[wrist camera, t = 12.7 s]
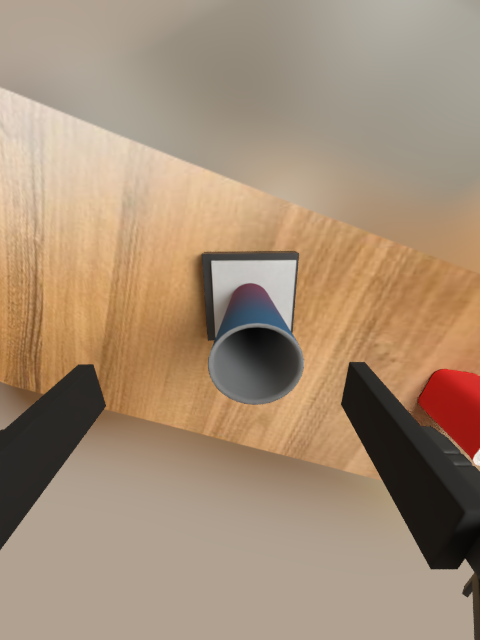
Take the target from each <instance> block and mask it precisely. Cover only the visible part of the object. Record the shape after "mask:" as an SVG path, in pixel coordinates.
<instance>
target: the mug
mask: <svg viewBox="0 0 480 640" xmlns="http://www.w3.org/2000/svg"><path fill="white" fill-rule="evenodd" d="M418 403H419V404H420V406H421V407H422V408H423V409H424V410H425V411H426V412H427V413H428V414H429V415H430V416H431V417H432V418H433V419H434V420H435V421H436V422H437V423H438V424H439V425H440V426H441V427H442V428H443V430H444V431H445V432H446V433H447V434H448V435H449V436H450V437H451V438H452V439H453V440H454V441H455V442H456V443H457V444H458V445H459V446H460V447H461V448H462V449H463V450H464V451H465V452H466V453H467V454H468V455H469V456H470V458H471V459H472V461H473V462H474V464H476V465H478V466H480V376H478V375H476V374H474V373H468V372H461V371H455V370H448V369H442V370H439V371H437V372H435V373H434V374H433V375H432V377H431V379H430V380H429V382H428V384H427V386H426V387H425V389H424V391H423V393H422V394H421V396H420V398H419V401H418Z"/></svg>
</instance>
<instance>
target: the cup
mask: <svg viewBox="0 0 480 640" xmlns="http://www.w3.org/2000/svg"><path fill="white" fill-rule="evenodd" d="M303 368H304V358H303V353H302V350H301V348H300V346H299V344H298V342H297V341H296V339H295V338H294V336H293V334H292V333H291V331H290V329H289V328H288V326H287V324H286V323H285V321H284V319H283V318H282V316H281V315H280V313H279V311H278V310H277V308H276V306H275V305H274V303H273V301H272V300H271V298H270V297H269V295H268V293H267V292H266V290H265V289H264V288H263V287H261V286H260V285H257V284H254V283H247V284H243V285H241V286H239V287H238V288H237V289H236V290H235V291H234V293H233V294H232V297H231V300H230V302H229V305H228V307H227V310H226V313H225V315H224V318H223V320H222V323H221V325H220V328H219V331H218V333H217V336H216V338H215V341H214V344H213V346H212V349H211V352H210V355H209V359H208V369H209V374H210V377H211V379H212V382H213V383H214V384H215V386H216V387H217V389H218V390H219V391H220V392H221V393H223V394H224V395H225V396H227V397H228V398H230V399H232V400H235V401H237V402H241V403H244V404H253V405H256V404H266V403H270V402H273V401H276V400H278V399H280V398H282V397H284V396H285V395H287V394H288V393H289V392H290V391H292V390H293V389H294V387H295V386H296V385H297V384H298V382H299V380H300V378H301V376H302V372H303Z"/></svg>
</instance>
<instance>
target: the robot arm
mask: <svg viewBox="0 0 480 640" xmlns="http://www.w3.org/2000/svg"><path fill="white" fill-rule="evenodd" d="M341 405H342V407H343V409H344V411H345V413H346V414H347V416H348V418H349V420H350V422H351V424H352V425H353V427H354V429H355V431H356V433H357V435H358V436H359V438H360V440H361V442H362V444H363V446H364V447H365V449H366V451H367V453H368V455H369V457H370V458H371V460H372V462H373V464H374V466H375V468H376V469H377V471H378V473H379V475H380V477H381V479H382V480H383V482H384V484H385V486H386V488H387V490H388V491H389V493H390V495H391V497H392V499H393V501H394V502H395V504H396V506H397V508H398V510H399V512H400V513H401V515H402V517H403V519H404V521H405V523H406V524H407V526H408V528H409V530H410V532H411V533H412V535H413V537H414V539H415V541H416V543H417V545H418V546H419V548H420V550H421V552H422V554H423V556H424V557H425V559H426V561H427V563H428V565H429V567H430V568H431V569H458V567H459V566H460V565H461V563H462V562H463V561H464V559H466V560H467V562H468V563H469V565H470V566H471V568H472V569H473V571H474V572H475V573H474V574H473V575H472V577H471V578H470V579H469V581H468V582H467V583H466V585H465V586H464V589H463V595H465V596H466V597H468V596H469V595H470V594H471V592H472V591H473V613H474V639H475V640H480V471H479V470H478V469H477V468H476V467H475V466H472V463H471V462H470V461H469V460H468V459H467V458H466V457H465V456H464V455H463V454H461V453H460V450H459V449H458V448H457V447H456V446H455V445H454V444H453V443H452V442H451V441H450V440H449V439H448V438H447V437H446V436H444V435H443V434H441V433H440V432H438V431H437V430H436V429H434V428H433V427H431V426H420V425H419V423H418V422H417V421H416V420H415V419H414V418H413V417H412V416H411V414H410V413H409V412H408V411H407V410H406V409H405V408H404V406H403V405H402V404H401V403H400V402H399V401H398V400H397V398H396V397H395V396H394V395H393V394H392V393H391V392H390V390H389V389H388V388H387V387H386V386H385V385H384V384H383V382H382V381H381V380H380V379H379V378H378V377H377V376H376V374H375V373H374V372H373V371H372V370H371V369H370V368H369V367H368V365H367V364H366V363H365V362H349V367H348V372H347V377H346V382H345V387H344V392H343V397H342V402H341ZM105 407H106V404H105V401H104V398H103V394H102V391H101V388H100V385H99V381H98V378H97V375H96V372H95V368H94V365H93V364H88V365H77V366H76V367H75V368H74V369H73V370H72V371H71V372H70V373H68V374H67V375H66V376H65V377H64V378H63V379H62V380H60V381H59V382H58V383H57V384H56V385H55V386H54V387H52V388H51V389H50V390H49V391H48V392H47V393H46V394H44V395H43V396H42V397H41V398H40V399H39V400H38V401H36V402H35V403H34V404H33V405H32V406H31V407H30V408H29V409H27V410H26V411H25V412H24V413H23V414H22V415H20V416H19V417H18V418H17V419H16V420H15V421H14V422H13V423H11V424H10V425H9V426H8V427H7V428H6V429H4V430H0V550H1V548H2V547H3V546H4V544H5V543H6V541H7V540H8V539H9V537H10V536H11V535H12V533H13V532H14V531H15V529H16V528H17V526H18V525H19V524H20V522H21V521H22V520H23V518H24V517H25V515H26V514H27V513H28V512H29V510H30V509H31V507H32V506H33V505H34V503H35V502H36V501H37V499H38V498H39V497H40V495H41V494H42V493H43V491H44V490H45V488H46V487H47V486H48V484H49V483H50V482H51V480H52V479H53V478H54V476H55V475H56V473H57V472H58V471H59V469H60V468H61V467H62V465H63V464H64V462H65V461H66V460H67V459H68V457H69V456H70V454H71V453H72V452H73V450H74V449H75V448H76V446H77V445H78V444H79V442H80V441H81V439H82V438H83V437H84V435H85V434H86V433H87V431H88V430H89V429H90V427H91V426H92V425H93V423H94V422H95V420H96V419H97V418H98V416H99V415H100V414H101V412H102V411H103V410H104V408H105Z"/></svg>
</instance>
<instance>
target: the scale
mask: <svg viewBox="0 0 480 640" xmlns="http://www.w3.org/2000/svg"><path fill="white" fill-rule="evenodd" d="M298 260H299V253H297V252H296V251H254V252H204V253H203V254H202V264H203V278H204V292H205V307H206V321H207V335H208V340H215V338H216V336H217V333H218V331H219V328H220V325H221V323H222V320H223V318H224V315H225V313H226V310H227V307H228V305H229V302H230V300H231V297H232V294H233V293H234V291H235V290H236V289H237V288H238V287H239V286H241V285H243V284H247V283H254V284H257V285H260V286H261V287H263V288H264V289H265V290H266V292H267V293H268V295H269V297H270V298H271V300H272V301H273V303H274V305H275V306H276V308H277V310H278V311H279V313H280V315H281V316H282V318H283V319H284V321H285V323H286V324H287V326H288V328H289V329H290V331H291V333H292V331H293V319H294V308H295V296H296V284H297V272H298Z"/></svg>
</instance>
